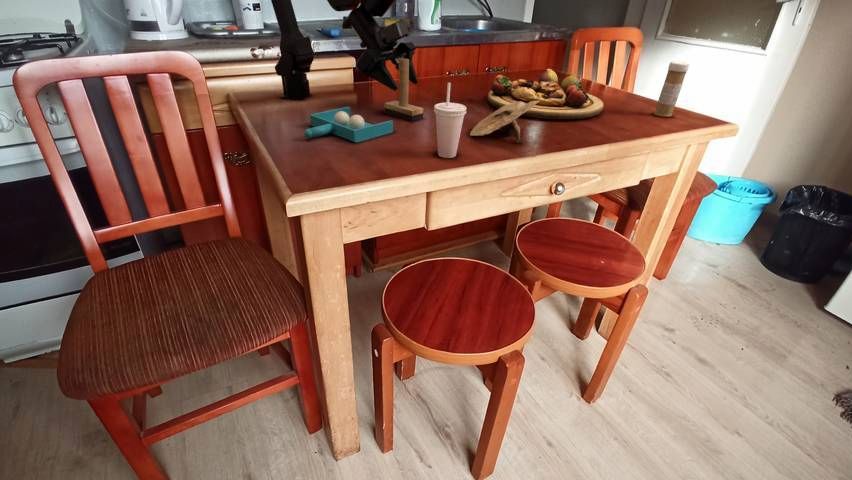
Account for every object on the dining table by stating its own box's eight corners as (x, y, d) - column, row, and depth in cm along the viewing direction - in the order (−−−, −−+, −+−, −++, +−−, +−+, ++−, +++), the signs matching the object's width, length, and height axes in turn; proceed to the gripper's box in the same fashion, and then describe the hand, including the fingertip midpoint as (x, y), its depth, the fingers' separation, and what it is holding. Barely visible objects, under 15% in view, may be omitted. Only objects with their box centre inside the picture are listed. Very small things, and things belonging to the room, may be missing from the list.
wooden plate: (473, 112, 120) (476, 79, 116) (501, 88, 145) (504, 60, 140) (598, 128, 111) (607, 93, 106) (604, 100, 135) (612, 70, 131)
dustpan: (349, 117, 113) (348, 106, 111) (393, 132, 104) (393, 120, 103) (285, 132, 102) (283, 120, 100) (328, 150, 93) (327, 137, 91)
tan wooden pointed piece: (463, 157, 110) (453, 126, 107) (510, 135, 113) (502, 105, 111) (504, 154, 93) (493, 117, 91) (558, 128, 97) (548, 93, 95)
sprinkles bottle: (662, 112, 125) (679, 60, 118) (675, 117, 122) (694, 63, 114) (649, 113, 124) (666, 60, 116) (662, 118, 120) (680, 64, 113)
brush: (412, 121, 111) (413, 63, 104) (384, 113, 117) (383, 57, 109) (422, 118, 114) (425, 61, 106) (395, 110, 119) (395, 55, 112)
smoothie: (429, 149, 95) (433, 79, 87) (459, 149, 96) (465, 79, 88) (433, 160, 90) (437, 86, 82) (464, 160, 90) (471, 87, 82)
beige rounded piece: (349, 122, 107) (339, 131, 106) (339, 109, 106) (329, 119, 105) (354, 119, 104) (343, 129, 103) (344, 106, 103) (333, 116, 102)
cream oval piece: (362, 130, 105) (350, 135, 103) (356, 116, 105) (343, 119, 103) (369, 126, 102) (357, 130, 100) (363, 110, 102) (350, 114, 100)
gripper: (363, 8, 97) (406, 70, 98) (410, 4, 110) (446, 58, 112) (338, 44, 104) (377, 101, 106) (384, 37, 118) (418, 87, 119)
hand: (406, 86), depth 110 cm, fingers open, 9 cm apart
